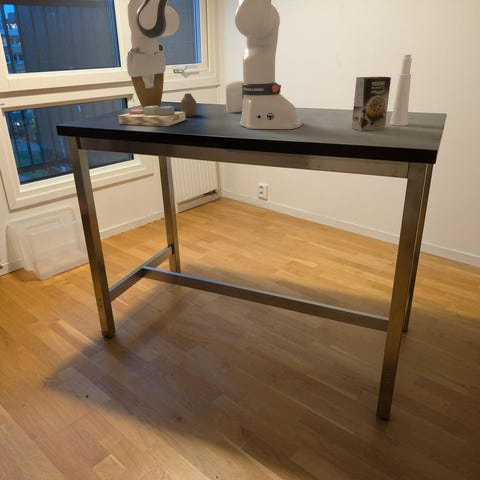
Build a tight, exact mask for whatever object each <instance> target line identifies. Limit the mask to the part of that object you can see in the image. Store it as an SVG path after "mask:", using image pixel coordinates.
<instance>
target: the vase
mask: <svg viewBox="0 0 480 480" xmlns="http://www.w3.org/2000/svg"><path fill="white" fill-rule="evenodd" d="M180 112H185V118H186V117H189V118H190V117H194V116H196V114H197V112H198V104H197V101H196V99H195V98H194V97H193V95H192V93H187V92H186V93H184V96H183V97H182V99H181V100H180Z"/></svg>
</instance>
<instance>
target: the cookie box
mask: <svg viewBox="0 0 480 480" xmlns="http://www.w3.org/2000/svg"><path fill="white" fill-rule="evenodd" d="M391 79H392V77H390V76H363V77H362V76H361V77H359V76H357V77H356V78H355V89H354V99H353V108H352V121H351V128H352V129H355V130H357V131H360V132H365V131H377V130H385V129H386V121H387V113H388V104H389V98H390V97H389V96H390V91H391V90H390V89H391V88H390V87H391V82H392V81H391Z"/></svg>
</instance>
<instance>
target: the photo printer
mask: <svg viewBox="0 0 480 480" xmlns="http://www.w3.org/2000/svg"><path fill="white" fill-rule="evenodd" d="M242 83H243V80H234V81H231V82H228V83H226V84H225V107H226V109H225V110H226V113H227V114H233V113H242V109H243V98H242Z"/></svg>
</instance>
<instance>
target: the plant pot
mask: <svg viewBox="0 0 480 480" xmlns="http://www.w3.org/2000/svg"><path fill="white" fill-rule="evenodd" d="M164 77H165V72H164V73H158V74H154V81H153V86H154V87H152V88H146V87H145V83H144V81H143V79H142V76H138V77H130V79H131V82H132V86H133V89H134V92H135V95H136V96H137V98H138V99H137V100H138V101H139V103H140V106H141V108H142V109H143V107H147V106H159V108H160V107H161V104H162V100H163V94H164V91H163V90H164V82H165V81H164V79H165V78H164ZM148 79H149V78H148Z"/></svg>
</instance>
